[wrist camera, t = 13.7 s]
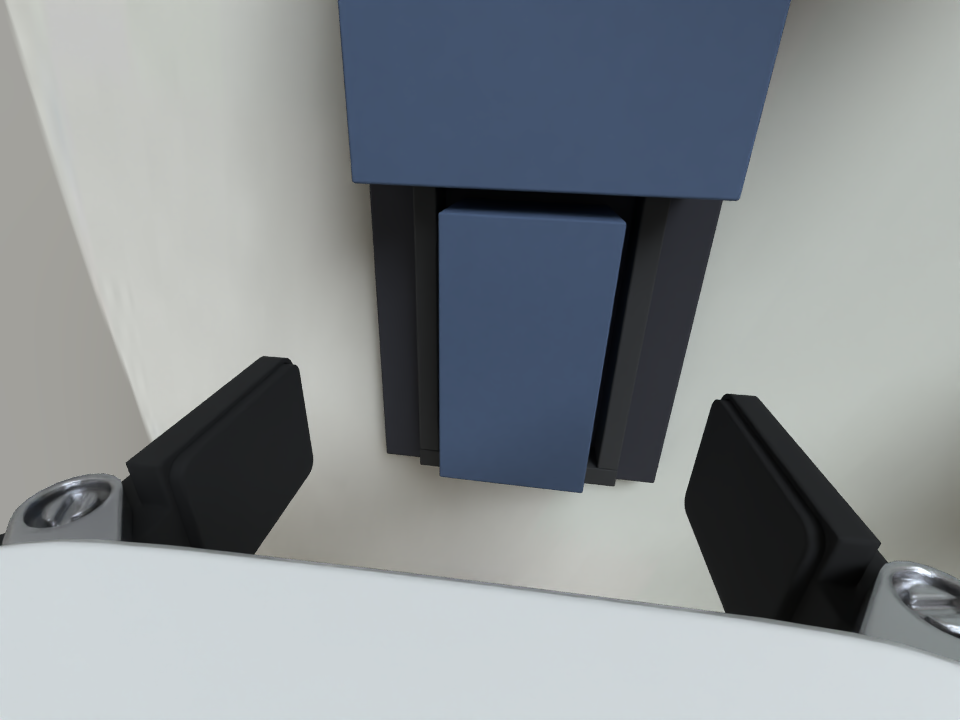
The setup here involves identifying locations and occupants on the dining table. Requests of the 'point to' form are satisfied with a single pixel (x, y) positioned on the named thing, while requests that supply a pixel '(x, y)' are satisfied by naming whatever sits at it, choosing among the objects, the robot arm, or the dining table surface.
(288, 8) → the dining table surface
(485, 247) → the loose pad
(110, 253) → the dining table surface
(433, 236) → the pad base
